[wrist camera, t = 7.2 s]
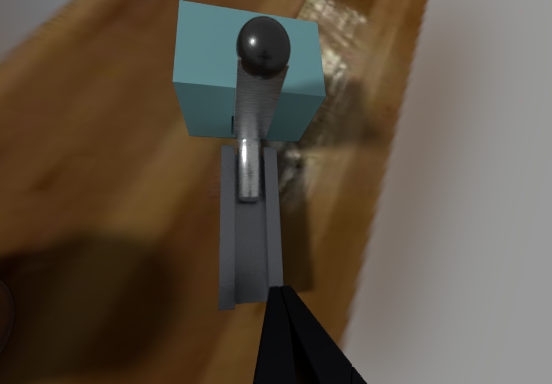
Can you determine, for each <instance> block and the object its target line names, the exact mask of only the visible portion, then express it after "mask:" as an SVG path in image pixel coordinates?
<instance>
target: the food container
mask: <svg viewBox="0 0 552 384" xmlns="http://www.w3.org/2000/svg"><path fill="white" fill-rule="evenodd" d="M13 322H14V303H13V299H12V295H11V293H10V291H9V289H8V287H7V286H6V285H5V284H4V283H3V281H2V280H0V352H1V351H2V349H3V348H4V346H5V345H6V343H7V341H8V338H9V334H10V331H11V328H12V325H13Z"/></svg>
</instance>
